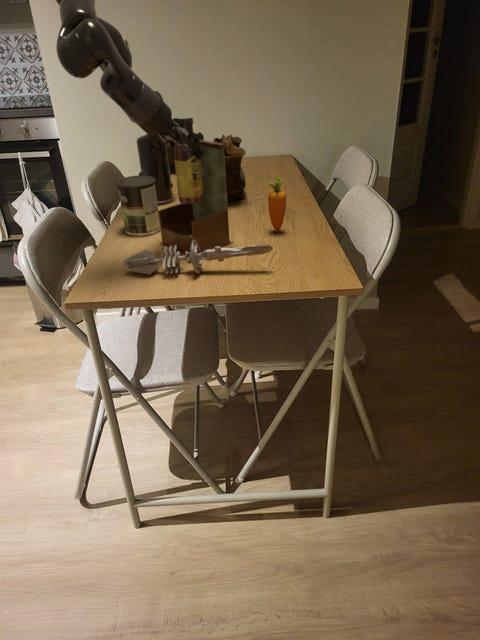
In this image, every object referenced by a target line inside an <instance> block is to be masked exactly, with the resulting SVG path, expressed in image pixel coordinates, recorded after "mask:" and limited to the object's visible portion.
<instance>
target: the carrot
mask: <svg viewBox="0 0 480 640" xmlns="http://www.w3.org/2000/svg"><path fill="white" fill-rule="evenodd" d="M274 178H275V183H273V182H271V181H268V182H267V184H268V185H269V186H271V187H272V188H273V190H271V191H269V192H268V197H267V201H268V213H269V220H270V223H271V225H272V227H273V229H274V231H275V232H276V233H279V232H280V230H281V228H282V227H283V224H284V221H285V215H286V209H287V192H286V191H284V190H282V189H281V188H282V184H283V179H282V178H280V177H279V175H276V176H274Z"/></svg>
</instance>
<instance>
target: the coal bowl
mask: <svg viewBox="0 0 480 640" xmlns="http://www.w3.org/2000/svg"><path fill="white" fill-rule="evenodd" d="M175 118H176V117H174V118H172V121H175V122H176V119H175ZM193 133H194V135H195V136H196V137H197V138H198V139H199V140H204V141H205V137H204V134H203V133H202V132H201V131H199V132H198V133H196V132H194V131H193ZM167 151H168V159H169V168H172V169H174V170H176V169H175V154H174V149H173V148H171V147H169V146H167Z"/></svg>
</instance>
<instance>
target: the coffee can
mask: <svg viewBox="0 0 480 640" xmlns="http://www.w3.org/2000/svg"><path fill="white" fill-rule="evenodd" d="M116 186H117V190H118V197H119V201H120V208H121V213H122V218H123V219H122V220H123V223H124V232H125V234H127V235H129V236H133V237H144V236H149V235H153V234H156V233H158V232H159V231H161V228H160V221H159V214H158V211H159V206H158V205H159V204H157V197H156V189H155V179H154V178H153V177H151V176H144V175H139V174H138V175H130V176H125V177H122V178H119V179H118V180H117V181H116Z"/></svg>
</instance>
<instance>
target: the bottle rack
mask: <svg viewBox="0 0 480 640" xmlns="http://www.w3.org/2000/svg"><path fill="white" fill-rule="evenodd" d="M198 146H199V147H200V148H201V149H202V150H203V151H204V154H203V156H202V158H201V159H200V161H201V175H202V189H203V195H202V201H201V202H199V203H196V204H182V203H181V202H179V203H177V204H175V205H170V206H168V207H165V208H162V209H158V214H159V221H160V228H161V229H160V235H161V242H162V244H163V245H166V246H168V247H170V246H172V248H174V245H177V248H176V250H179V251H181V252H184V253H185V252H190V253H191V251H190V249H191V243H192V240H193V239H195V240H196V241H197V243H198V245H199V248H200V251H201V252H204V251H205V250H208V249H214V248H215V247H216V246H220V247H221V248H222V247H224V246H226V245H228V244H230V243H231V242H230V225H229V209H228V208H229V207H228V201H227V189H226V171H225V154H224V149H225V144H221V143H215V142H213V141H209V140H205V139H204V140H200V142H199V143H198ZM191 234H192V236H189V235H191Z"/></svg>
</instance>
